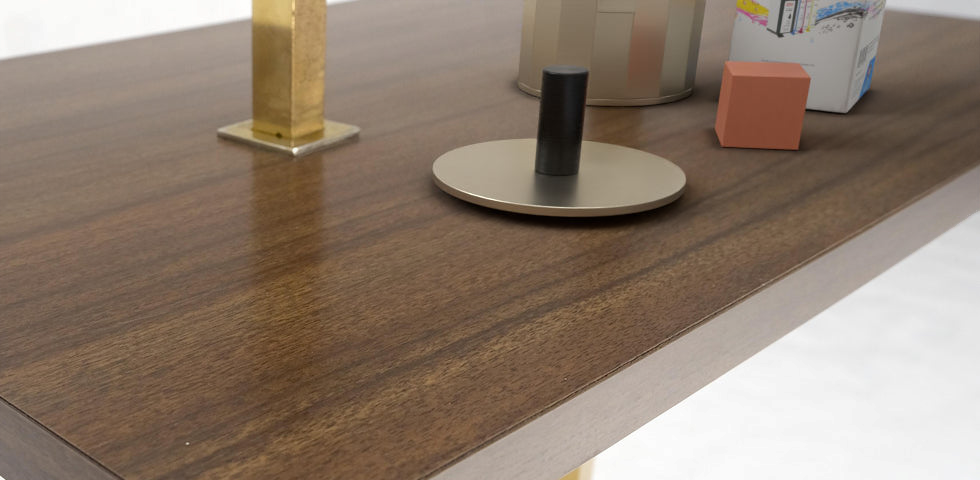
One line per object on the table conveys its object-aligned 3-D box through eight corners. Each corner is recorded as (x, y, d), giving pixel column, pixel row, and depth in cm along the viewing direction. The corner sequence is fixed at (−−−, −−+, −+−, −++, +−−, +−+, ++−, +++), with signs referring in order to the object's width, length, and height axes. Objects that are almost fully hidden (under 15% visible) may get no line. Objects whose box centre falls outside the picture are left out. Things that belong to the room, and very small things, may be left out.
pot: (682, 66, 94) (697, -45, 91) (702, 118, 78) (721, -13, 75) (523, 61, 97) (531, -46, 94) (511, 111, 81) (521, -16, 78)
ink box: (750, 79, 89) (776, -84, 84) (871, 91, 85) (906, -81, 80) (717, 100, 83) (743, -74, 78) (846, 115, 79) (882, -69, 74)
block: (787, 132, 75) (799, 63, 73) (798, 150, 71) (811, 77, 69) (714, 129, 76) (724, 61, 74) (721, 146, 72) (732, 75, 70)
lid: (674, 161, 69) (690, 48, 66) (693, 236, 57) (713, 102, 55) (444, 151, 72) (450, 42, 70) (417, 219, 60) (422, 92, 58)
